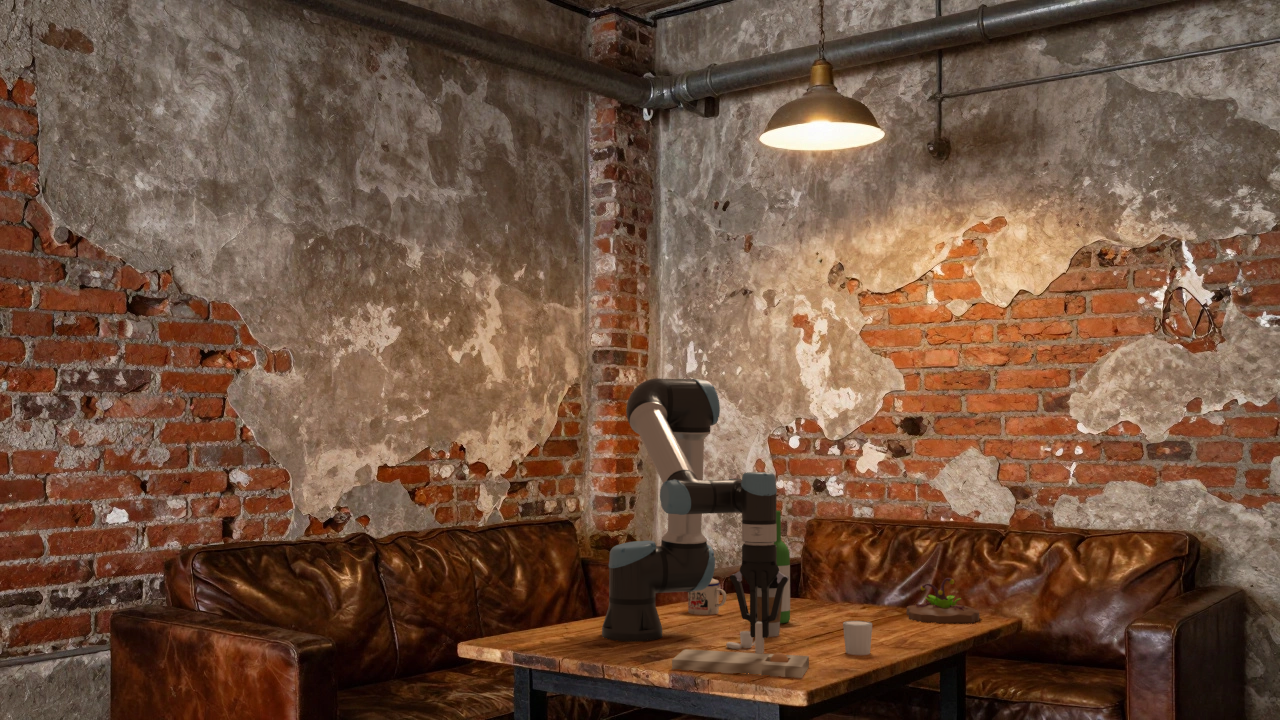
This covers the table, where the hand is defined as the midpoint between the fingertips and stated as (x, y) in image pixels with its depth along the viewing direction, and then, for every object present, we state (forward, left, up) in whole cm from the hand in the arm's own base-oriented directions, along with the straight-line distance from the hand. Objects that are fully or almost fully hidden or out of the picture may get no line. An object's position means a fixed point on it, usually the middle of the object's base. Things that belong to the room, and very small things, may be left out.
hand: (759, 652), depth 251 cm
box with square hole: (-4, 0, -4) cm, 6 cm away
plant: (+38, +86, -4) cm, 94 cm away
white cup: (+19, +26, -4) cm, 32 cm away
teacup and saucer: (-10, +26, -4) cm, 28 cm away
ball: (+4, 0, -2) cm, 5 cm away
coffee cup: (-5, +43, -4) cm, 44 cm away
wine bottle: (-6, +64, -4) cm, 65 cm away
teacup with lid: (-27, +73, -4) cm, 77 cm away
